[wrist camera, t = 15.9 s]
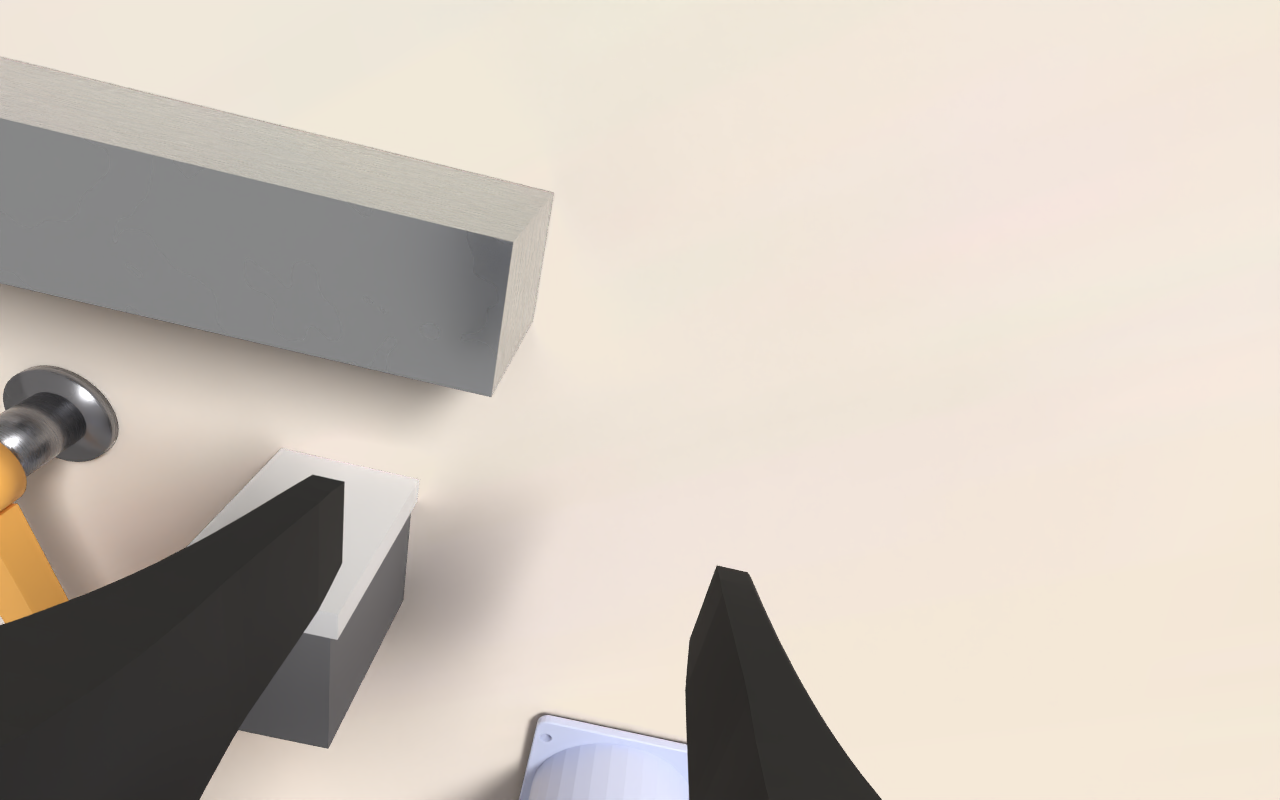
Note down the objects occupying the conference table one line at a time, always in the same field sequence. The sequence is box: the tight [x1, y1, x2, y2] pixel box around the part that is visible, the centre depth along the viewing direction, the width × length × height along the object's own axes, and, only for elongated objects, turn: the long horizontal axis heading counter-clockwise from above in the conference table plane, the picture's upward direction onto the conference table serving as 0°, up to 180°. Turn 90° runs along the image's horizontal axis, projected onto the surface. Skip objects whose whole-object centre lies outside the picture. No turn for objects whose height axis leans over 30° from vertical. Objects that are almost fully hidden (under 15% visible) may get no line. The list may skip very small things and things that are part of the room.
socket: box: [0, 57, 554, 397], centre depth 19 cm, size 4×16×5 cm, turn 77°
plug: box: [187, 448, 419, 749], centre depth 24 cm, size 9×5×6 cm, turn 167°
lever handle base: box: [0, 366, 118, 477], centre depth 24 cm, size 4×4×3 cm
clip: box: [0, 443, 69, 623], centre depth 25 cm, size 3×18×2 cm, turn 1°
